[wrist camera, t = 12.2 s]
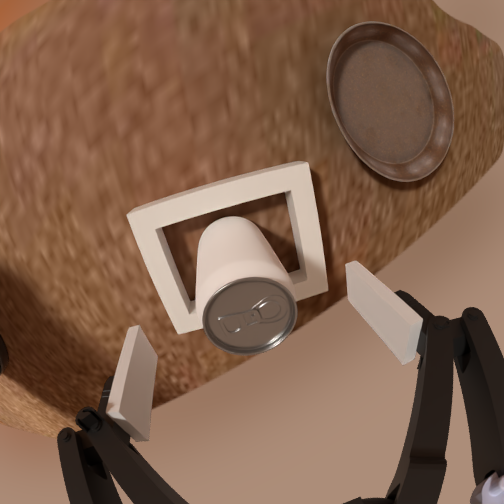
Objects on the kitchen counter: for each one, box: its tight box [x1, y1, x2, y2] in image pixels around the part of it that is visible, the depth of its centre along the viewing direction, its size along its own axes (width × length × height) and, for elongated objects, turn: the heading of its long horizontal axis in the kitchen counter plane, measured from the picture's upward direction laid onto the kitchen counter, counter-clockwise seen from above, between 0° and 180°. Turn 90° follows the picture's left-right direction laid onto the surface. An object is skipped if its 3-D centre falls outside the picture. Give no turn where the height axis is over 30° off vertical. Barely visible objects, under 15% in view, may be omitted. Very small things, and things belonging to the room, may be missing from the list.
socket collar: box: [127, 161, 328, 334], centre depth 25 cm, size 16×13×2 cm
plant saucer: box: [327, 22, 454, 182], centre depth 22 cm, size 18×18×3 cm
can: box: [196, 216, 297, 355], centre depth 21 cm, size 6×6×12 cm
